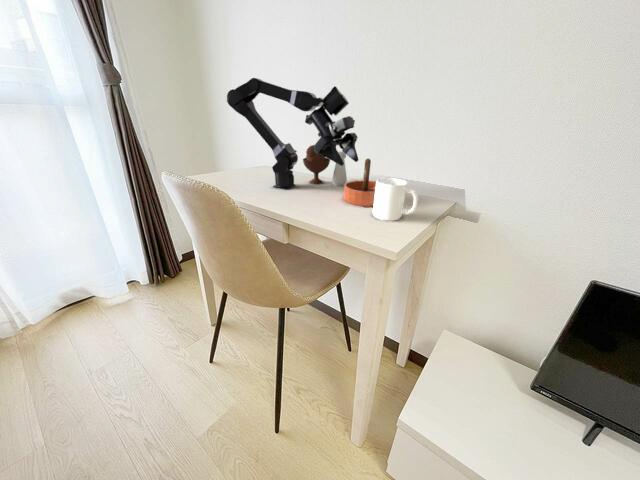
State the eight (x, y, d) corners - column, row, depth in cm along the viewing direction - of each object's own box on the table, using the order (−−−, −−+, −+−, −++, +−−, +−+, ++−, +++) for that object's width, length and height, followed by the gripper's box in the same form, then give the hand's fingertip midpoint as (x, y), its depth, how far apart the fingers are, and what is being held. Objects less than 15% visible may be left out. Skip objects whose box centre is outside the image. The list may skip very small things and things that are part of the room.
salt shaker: (343, 182, 108) (344, 150, 102) (348, 186, 104) (350, 152, 98) (330, 183, 107) (331, 150, 101) (334, 187, 102) (336, 153, 96)
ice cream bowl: (329, 186, 103) (330, 146, 97) (301, 185, 104) (301, 146, 97) (329, 179, 113) (330, 143, 106) (303, 179, 113) (303, 142, 106)
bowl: (336, 202, 85) (337, 188, 83) (351, 191, 97) (352, 178, 94) (379, 210, 80) (381, 194, 77) (389, 197, 91) (392, 183, 89)
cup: (378, 208, 81) (383, 176, 76) (417, 217, 75) (424, 182, 70) (367, 216, 75) (371, 182, 70) (409, 226, 69) (416, 189, 64)
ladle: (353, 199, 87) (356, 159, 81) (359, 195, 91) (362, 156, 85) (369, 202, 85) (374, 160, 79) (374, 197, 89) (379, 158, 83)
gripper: (322, 106, 75) (351, 149, 74) (355, 107, 88) (380, 144, 87) (302, 133, 83) (328, 173, 82) (335, 130, 96) (358, 164, 95)
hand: (350, 163), depth 87 cm, fingers open, 9 cm apart
